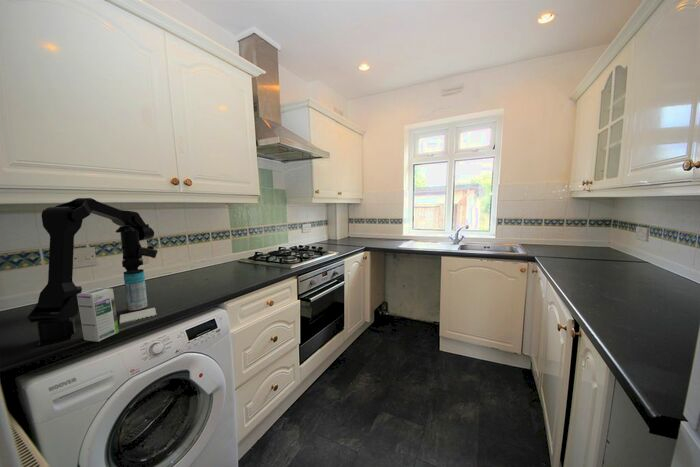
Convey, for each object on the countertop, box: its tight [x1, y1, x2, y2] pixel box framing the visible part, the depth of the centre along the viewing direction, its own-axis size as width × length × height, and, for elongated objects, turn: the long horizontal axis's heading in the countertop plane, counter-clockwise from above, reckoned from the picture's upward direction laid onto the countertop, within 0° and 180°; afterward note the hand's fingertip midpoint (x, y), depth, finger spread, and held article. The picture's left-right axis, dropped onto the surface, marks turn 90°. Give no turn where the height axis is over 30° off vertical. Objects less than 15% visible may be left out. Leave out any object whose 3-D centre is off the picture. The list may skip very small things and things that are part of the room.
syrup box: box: [77, 287, 120, 343], centre depth 78 cm, size 6×6×14 cm
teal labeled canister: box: [123, 268, 148, 313], centre depth 98 cm, size 6×6×15 cm
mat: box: [119, 307, 158, 325], centre depth 93 cm, size 10×8×1 cm
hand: (134, 279), depth 108 cm, fingers closed
